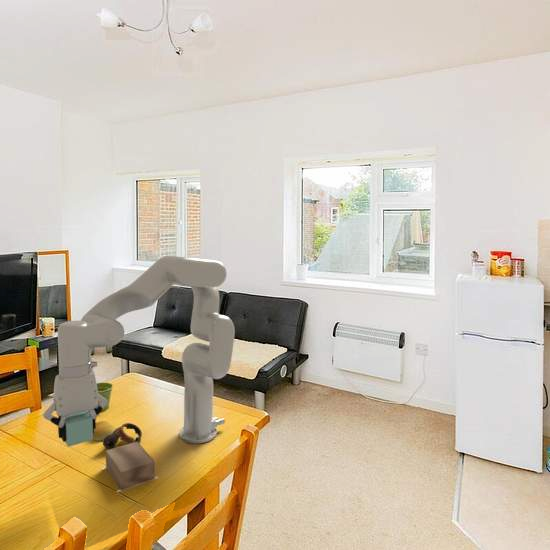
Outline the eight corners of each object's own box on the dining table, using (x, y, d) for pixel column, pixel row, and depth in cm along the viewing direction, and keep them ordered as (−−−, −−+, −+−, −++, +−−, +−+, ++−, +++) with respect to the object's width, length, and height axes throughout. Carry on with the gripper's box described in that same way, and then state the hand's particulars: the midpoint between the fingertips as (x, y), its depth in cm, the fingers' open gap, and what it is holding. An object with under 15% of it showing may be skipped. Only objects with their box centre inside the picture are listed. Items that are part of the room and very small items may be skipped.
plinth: (137, 457, 123) (137, 441, 122) (154, 478, 112) (154, 461, 112) (106, 467, 117) (105, 450, 116) (121, 490, 107) (121, 472, 106)
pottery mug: (122, 438, 137) (134, 418, 136) (137, 459, 132) (150, 439, 131) (91, 444, 127) (104, 423, 126) (106, 467, 122) (119, 445, 121)
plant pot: (101, 415, 152) (101, 393, 151) (81, 411, 154) (80, 389, 153) (118, 406, 160) (118, 384, 160) (98, 402, 163) (98, 380, 162)
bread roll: (94, 444, 132) (94, 432, 132) (85, 433, 139) (85, 422, 138) (120, 436, 137) (119, 425, 137) (110, 426, 144) (110, 415, 144)
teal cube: (86, 430, 112) (86, 409, 111) (92, 439, 108) (92, 417, 107) (62, 437, 108) (61, 415, 108) (67, 446, 104) (67, 424, 103)
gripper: (105, 359, 114) (107, 421, 116) (34, 371, 103) (37, 439, 105) (114, 367, 108) (115, 432, 110) (39, 380, 98) (42, 452, 100)
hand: (77, 435), depth 108 cm, fingers closed on teal cube, 6 cm apart
